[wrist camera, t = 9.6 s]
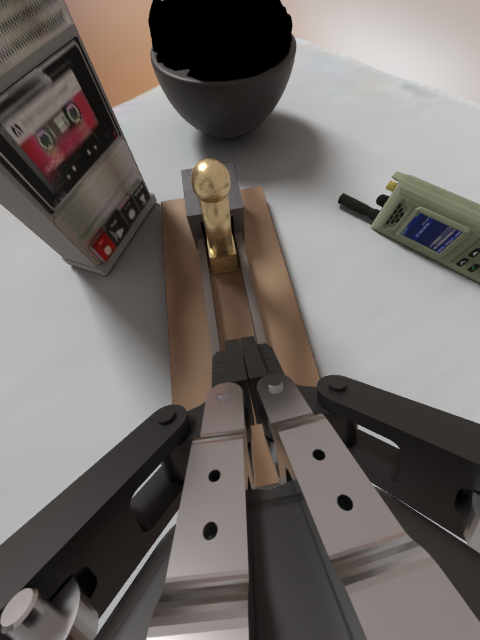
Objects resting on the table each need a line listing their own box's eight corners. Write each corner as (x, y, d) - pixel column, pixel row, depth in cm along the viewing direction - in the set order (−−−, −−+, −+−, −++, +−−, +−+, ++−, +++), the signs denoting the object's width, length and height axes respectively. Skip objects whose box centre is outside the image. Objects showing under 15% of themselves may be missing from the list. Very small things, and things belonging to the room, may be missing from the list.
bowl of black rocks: (182, 177, 37) (121, -39, 19) (165, 108, 44) (111, -91, 27) (302, 151, 38) (347, -72, 21) (266, 89, 46) (276, -112, 28)
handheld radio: (524, 313, 26) (330, 212, 33) (532, 293, 27) (341, 199, 34) (610, 278, 20) (350, 164, 27) (615, 255, 21) (363, 150, 28)
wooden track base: (184, 495, 21) (172, 509, 17) (165, 213, 34) (156, 191, 30) (338, 464, 21) (355, 473, 18) (260, 198, 34) (262, 175, 31)
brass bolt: (213, 278, 27) (188, 179, 16) (205, 223, 30) (179, 109, 19) (239, 274, 27) (232, 172, 16) (227, 219, 30) (215, 103, 19)
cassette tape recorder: (109, 277, 30) (-364, -198, 7) (69, 265, 31) (-461, -187, 8) (158, 202, 35) (-19, -222, 12) (123, 194, 36) (-105, -214, 13)
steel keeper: (196, 249, 29) (186, 216, 24) (191, 206, 31) (181, 170, 27) (244, 241, 29) (244, 207, 24) (235, 199, 32) (232, 162, 27)
